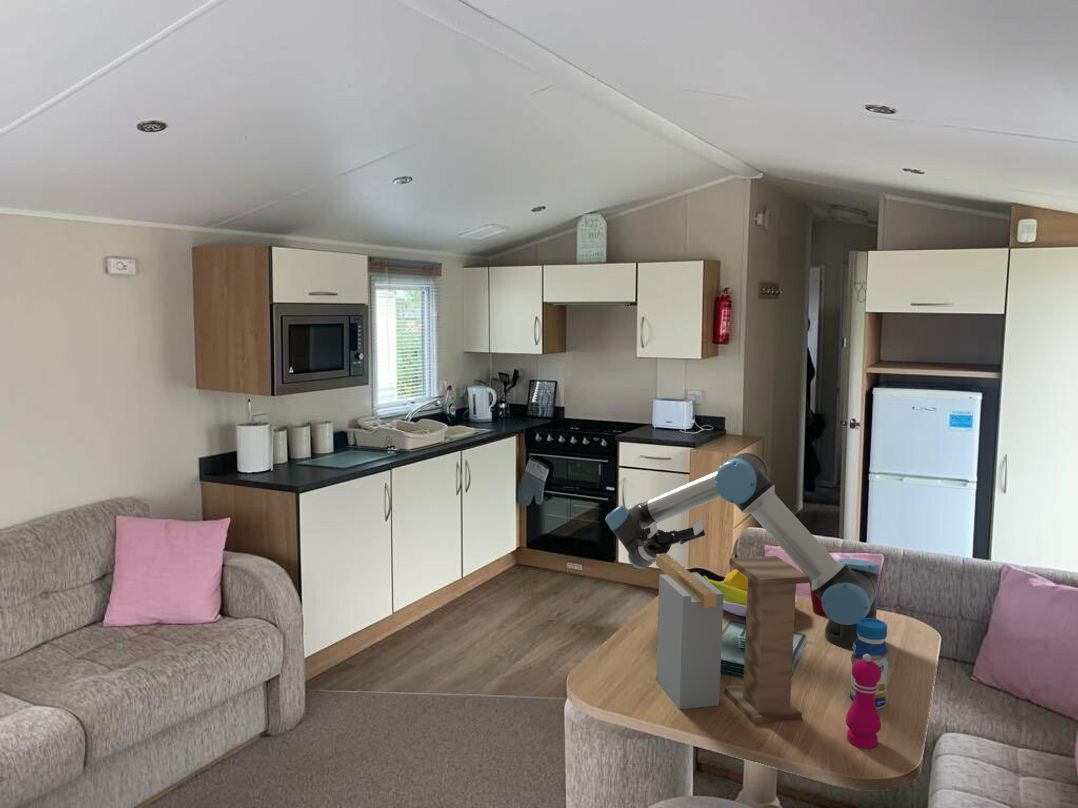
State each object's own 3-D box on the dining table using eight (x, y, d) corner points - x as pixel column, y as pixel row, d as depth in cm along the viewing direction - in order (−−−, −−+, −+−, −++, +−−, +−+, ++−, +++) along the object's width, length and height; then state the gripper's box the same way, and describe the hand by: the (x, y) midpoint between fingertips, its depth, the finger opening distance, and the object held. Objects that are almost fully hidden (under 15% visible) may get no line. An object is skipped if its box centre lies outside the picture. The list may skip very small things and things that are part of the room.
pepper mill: (884, 750, 188) (890, 661, 185) (850, 749, 188) (856, 660, 185) (872, 733, 195) (878, 647, 192) (840, 732, 195) (845, 647, 193)
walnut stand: (724, 692, 214) (729, 558, 210) (769, 688, 217) (775, 555, 212) (753, 724, 198) (760, 579, 194) (801, 719, 201) (809, 576, 197)
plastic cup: (845, 610, 271) (847, 573, 270) (836, 621, 262) (839, 582, 261) (810, 603, 277) (812, 567, 275) (800, 613, 268) (802, 576, 266)
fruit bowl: (794, 600, 280) (796, 566, 278) (796, 631, 254) (798, 594, 252) (706, 591, 287) (707, 558, 286) (698, 621, 261) (700, 584, 260)
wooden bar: (655, 564, 230) (656, 553, 230) (666, 564, 231) (667, 553, 230) (703, 607, 199) (704, 594, 199) (716, 606, 200) (716, 594, 199)
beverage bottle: (889, 700, 211) (895, 621, 208) (881, 714, 204) (886, 632, 201) (853, 691, 216) (858, 613, 213) (844, 704, 209) (849, 624, 206)
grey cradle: (656, 679, 221) (659, 574, 217) (693, 676, 223) (697, 572, 219) (679, 709, 205) (683, 596, 202) (719, 705, 207) (723, 593, 204)
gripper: (697, 555, 254) (725, 536, 235) (615, 560, 248) (637, 541, 229) (692, 530, 257) (720, 509, 238) (611, 534, 251) (633, 514, 232)
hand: (679, 525), depth 233 cm, fingers open, 13 cm apart
